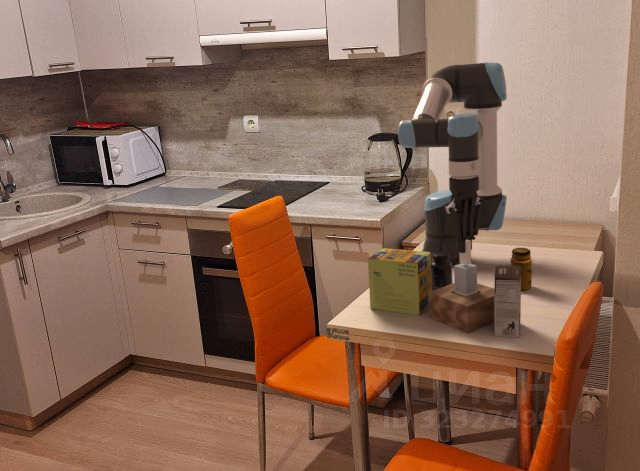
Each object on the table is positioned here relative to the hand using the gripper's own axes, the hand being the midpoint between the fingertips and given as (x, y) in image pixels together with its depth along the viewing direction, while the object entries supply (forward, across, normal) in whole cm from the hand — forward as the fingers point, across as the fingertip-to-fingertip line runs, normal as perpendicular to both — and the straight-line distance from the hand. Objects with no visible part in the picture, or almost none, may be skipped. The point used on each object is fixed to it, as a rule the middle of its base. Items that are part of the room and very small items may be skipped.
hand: (465, 263), depth 178 cm
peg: (+15, 0, 0) cm, 15 cm away
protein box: (+16, -6, +19) cm, 26 cm away
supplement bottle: (+16, +10, +19) cm, 27 cm away
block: (+16, 0, 0) cm, 16 cm away
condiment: (+16, +26, +4) cm, 31 cm away
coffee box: (+16, +2, -13) cm, 20 cm away
